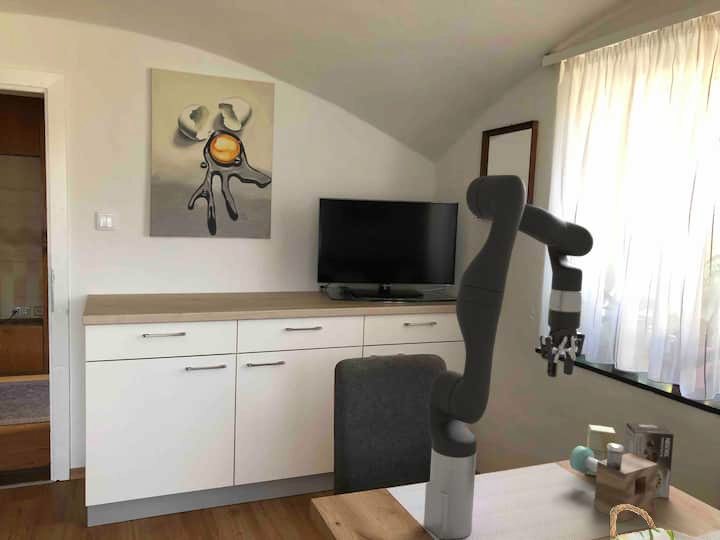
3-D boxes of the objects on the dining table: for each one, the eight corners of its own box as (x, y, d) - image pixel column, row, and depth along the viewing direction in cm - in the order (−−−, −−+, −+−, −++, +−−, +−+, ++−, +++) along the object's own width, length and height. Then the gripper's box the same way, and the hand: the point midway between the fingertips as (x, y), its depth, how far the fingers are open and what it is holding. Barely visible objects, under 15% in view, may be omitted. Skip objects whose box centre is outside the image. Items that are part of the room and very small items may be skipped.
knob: (616, 494, 132) (619, 469, 132) (568, 471, 144) (570, 447, 143) (633, 489, 135) (635, 464, 135) (585, 466, 147) (586, 444, 146)
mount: (620, 521, 128) (624, 473, 127) (593, 507, 134) (597, 461, 133) (653, 509, 134) (658, 464, 133) (626, 496, 140) (630, 452, 139)
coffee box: (658, 486, 147) (664, 424, 145) (669, 498, 140) (675, 434, 139) (621, 483, 147) (626, 421, 146) (630, 495, 141) (635, 431, 140)
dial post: (615, 471, 128) (617, 450, 128) (602, 465, 131) (603, 444, 131) (625, 468, 130) (627, 447, 130) (612, 462, 133) (613, 442, 133)
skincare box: (586, 474, 152) (589, 429, 151) (583, 468, 156) (587, 423, 155) (612, 478, 150) (616, 432, 149) (609, 471, 154) (613, 426, 153)
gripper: (556, 312, 136) (551, 382, 138) (596, 309, 144) (591, 376, 145) (532, 307, 143) (527, 374, 144) (572, 304, 150) (567, 368, 152)
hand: (560, 375), depth 145 cm, fingers open, 5 cm apart
